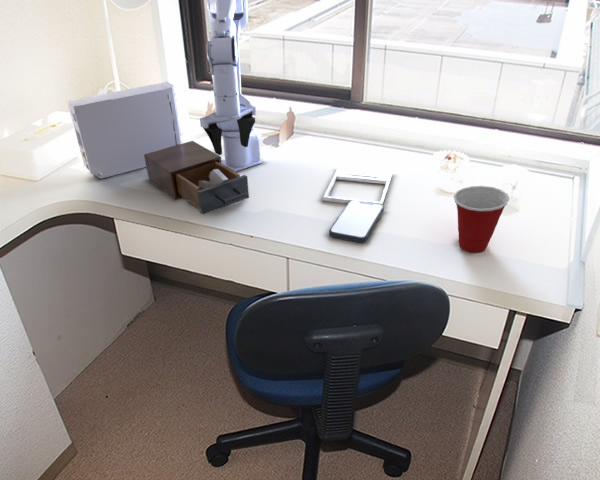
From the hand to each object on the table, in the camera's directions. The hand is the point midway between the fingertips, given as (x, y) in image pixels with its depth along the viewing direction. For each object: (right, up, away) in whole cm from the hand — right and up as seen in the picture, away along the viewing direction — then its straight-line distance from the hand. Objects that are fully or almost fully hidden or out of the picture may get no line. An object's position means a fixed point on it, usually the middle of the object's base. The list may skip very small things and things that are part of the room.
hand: (231, 149), depth 137 cm
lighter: (-2, -11, -3) cm, 12 cm away
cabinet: (-13, -6, +10) cm, 17 cm away
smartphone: (+30, -20, -9) cm, 37 cm away
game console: (-29, 0, +19) cm, 34 cm away
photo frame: (+32, -9, +5) cm, 34 cm away
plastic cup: (+54, -26, -18) cm, 62 cm away
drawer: (-4, -12, 0) cm, 13 cm away
